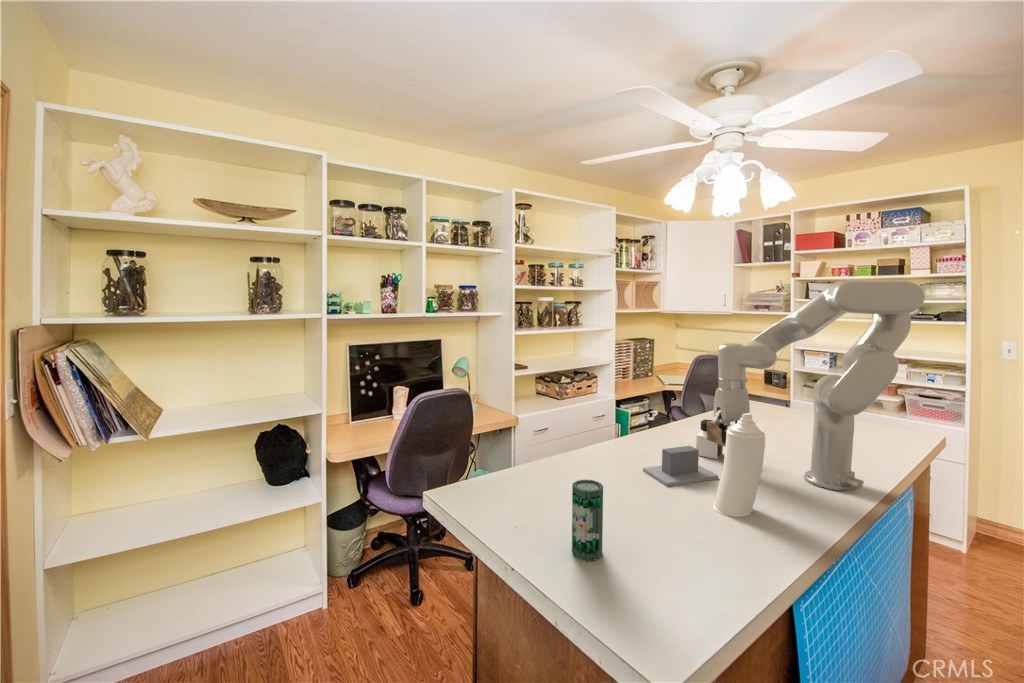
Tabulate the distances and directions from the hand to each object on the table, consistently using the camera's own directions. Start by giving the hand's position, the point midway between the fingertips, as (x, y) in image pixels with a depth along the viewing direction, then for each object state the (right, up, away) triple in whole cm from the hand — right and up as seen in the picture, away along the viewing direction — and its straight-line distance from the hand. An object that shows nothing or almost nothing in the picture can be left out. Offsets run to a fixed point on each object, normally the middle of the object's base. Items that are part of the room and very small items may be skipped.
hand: (732, 441), depth 140 cm
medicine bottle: (0, -8, +16) cm, 18 cm away
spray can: (-10, -12, -23) cm, 28 cm away
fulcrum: (-17, -10, -1) cm, 20 cm away
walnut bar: (0, -2, 0) cm, 1 cm away
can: (-52, -14, -43) cm, 69 cm away
